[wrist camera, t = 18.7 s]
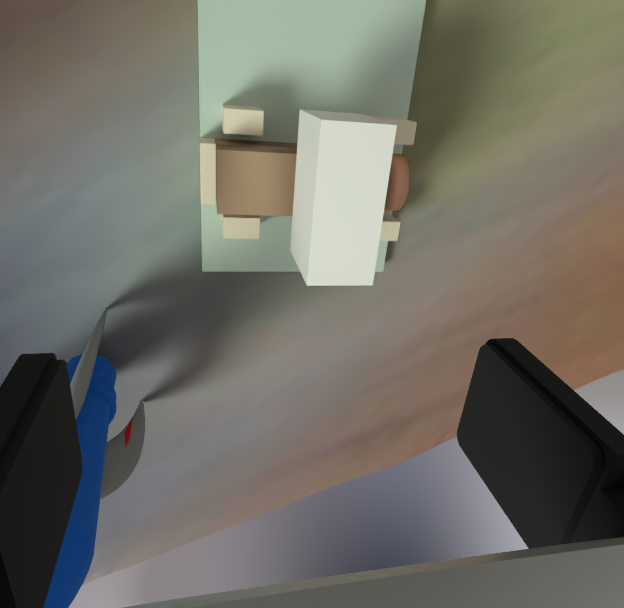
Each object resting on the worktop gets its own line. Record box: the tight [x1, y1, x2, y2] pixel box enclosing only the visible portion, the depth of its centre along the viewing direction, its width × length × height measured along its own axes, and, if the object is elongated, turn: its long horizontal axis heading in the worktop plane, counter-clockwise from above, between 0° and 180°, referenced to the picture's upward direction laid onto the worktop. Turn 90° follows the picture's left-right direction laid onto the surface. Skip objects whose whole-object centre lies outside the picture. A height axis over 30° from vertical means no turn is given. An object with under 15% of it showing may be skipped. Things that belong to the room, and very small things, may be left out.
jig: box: [198, 0, 426, 272], centre depth 33 cm, size 15×24×4 cm, turn 174°
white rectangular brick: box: [290, 109, 397, 286], centre depth 29 cm, size 4×9×6 cm, turn 174°
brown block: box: [215, 138, 410, 216], centre depth 34 cm, size 13×4×5 cm, turn 84°
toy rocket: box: [44, 308, 145, 608], centre depth 30 cm, size 11×10×25 cm
